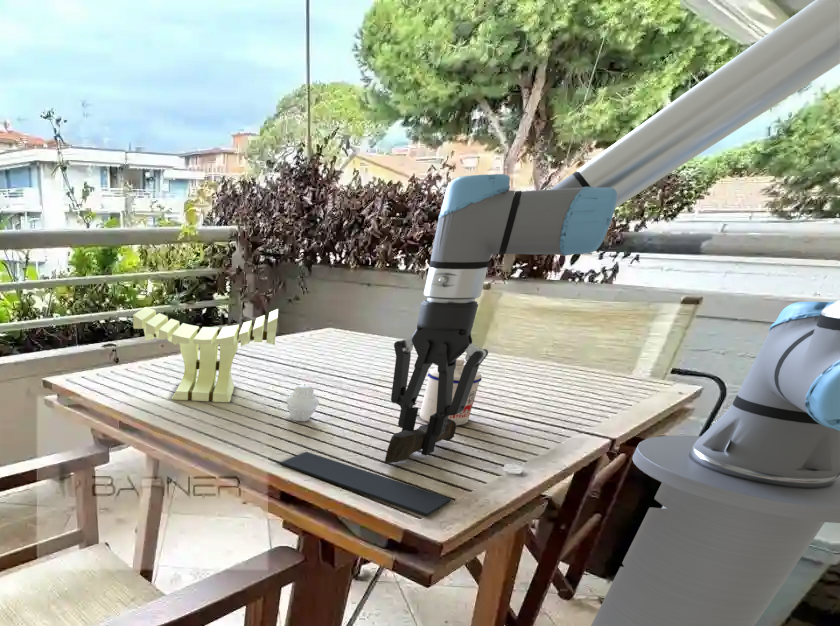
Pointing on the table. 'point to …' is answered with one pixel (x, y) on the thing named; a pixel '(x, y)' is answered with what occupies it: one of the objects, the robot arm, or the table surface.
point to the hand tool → (414, 441)
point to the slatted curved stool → (205, 351)
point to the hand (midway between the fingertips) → (415, 449)
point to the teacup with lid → (432, 391)
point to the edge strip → (368, 483)
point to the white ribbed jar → (302, 403)
